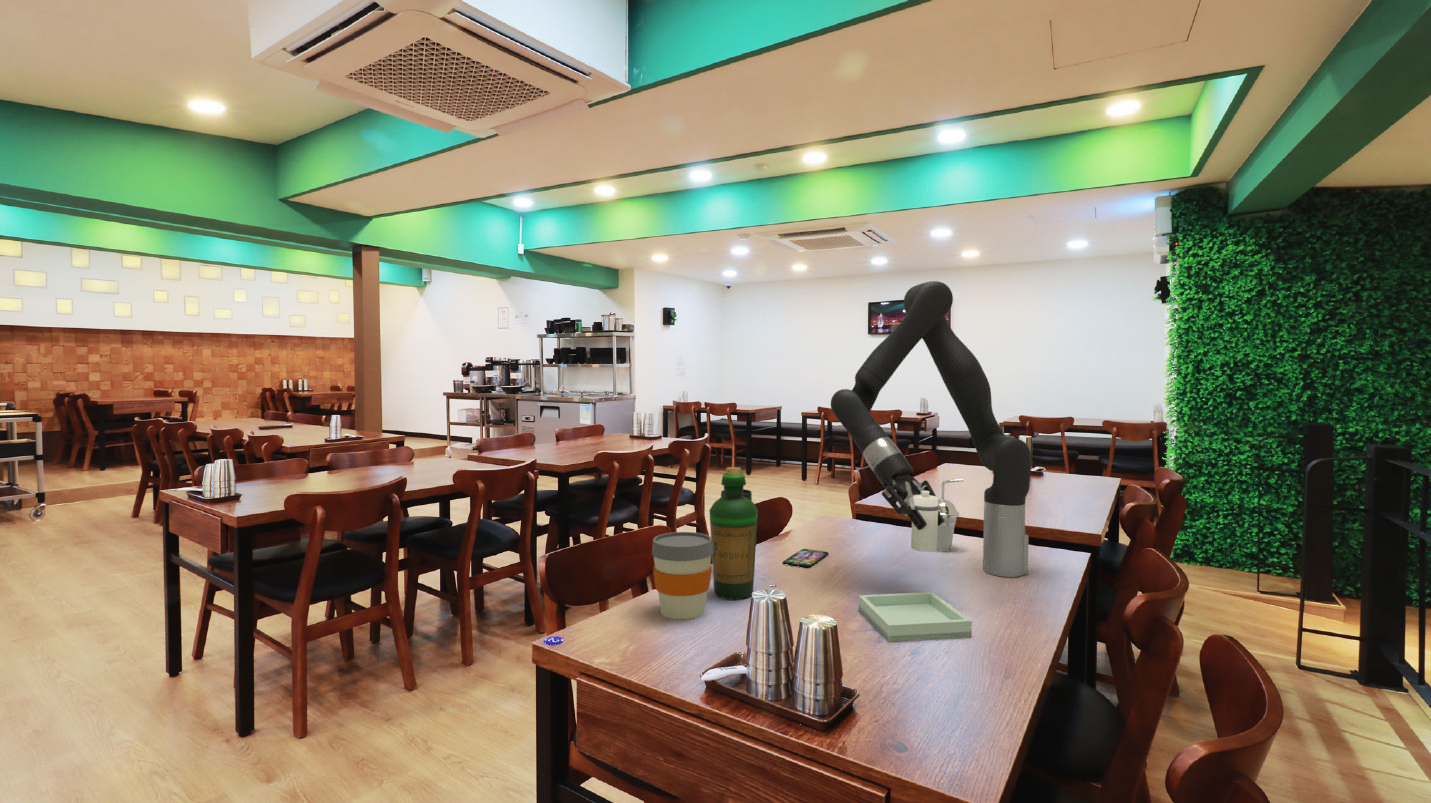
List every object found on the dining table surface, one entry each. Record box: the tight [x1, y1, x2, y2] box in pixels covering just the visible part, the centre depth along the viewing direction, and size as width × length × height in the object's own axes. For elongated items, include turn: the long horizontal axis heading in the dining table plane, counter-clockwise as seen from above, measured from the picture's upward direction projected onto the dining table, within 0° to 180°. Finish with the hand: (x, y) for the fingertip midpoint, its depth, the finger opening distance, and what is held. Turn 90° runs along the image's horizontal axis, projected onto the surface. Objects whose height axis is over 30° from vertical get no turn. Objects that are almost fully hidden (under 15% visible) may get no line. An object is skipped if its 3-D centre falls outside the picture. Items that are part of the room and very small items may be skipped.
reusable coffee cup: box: [651, 531, 713, 621], centre depth 134 cm, size 12×13×15 cm
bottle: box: [709, 466, 759, 600], centre depth 144 cm, size 11×11×28 cm
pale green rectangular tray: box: [858, 591, 973, 643], centre depth 128 cm, size 16×16×3 cm
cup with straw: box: [936, 478, 964, 552], centre depth 180 cm, size 8×9×20 cm
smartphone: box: [782, 548, 829, 569], centre depth 171 cm, size 8×1×15 cm
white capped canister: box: [910, 491, 939, 553], centre depth 138 cm, size 6×6×12 cm
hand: (931, 525), depth 137 cm, fingers closed on white capped canister, 5 cm apart
